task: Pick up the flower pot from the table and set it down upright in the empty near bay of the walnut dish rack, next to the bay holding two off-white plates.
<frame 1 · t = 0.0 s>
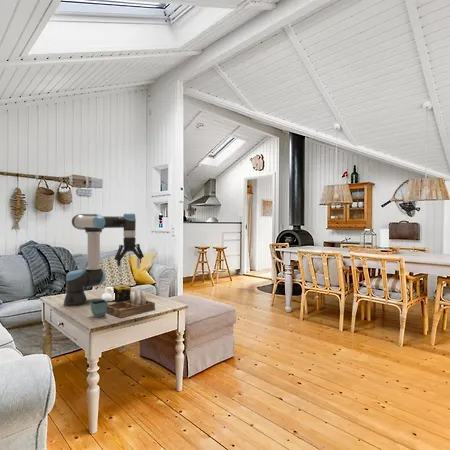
hand: (129, 269, 212), 28 cm above the table, fingers open, 13 cm apart
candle: (121, 300, 244), on the table
flower pot: (98, 316, 205), on the table
rack: (130, 310, 217), on the table
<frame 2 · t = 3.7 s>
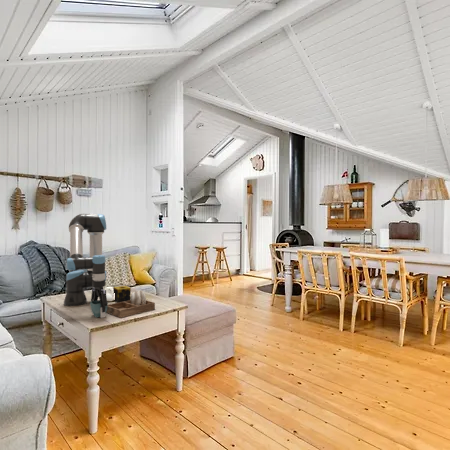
hand: (98, 315, 205), 0 cm above the table, fingers open, 9 cm apart
flower pot: (98, 316, 205), on the table, touching gripper
everything else where it was.
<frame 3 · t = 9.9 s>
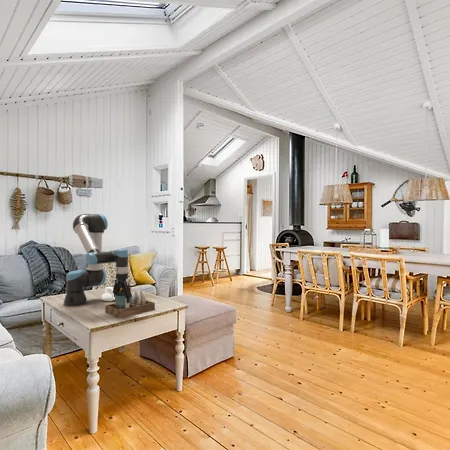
hand: (121, 306, 212), 4 cm above the table, fingers open, 12 cm apart
flower pot: (123, 308, 211), point 3 cm above the table, touching gripper
everything else where it was.
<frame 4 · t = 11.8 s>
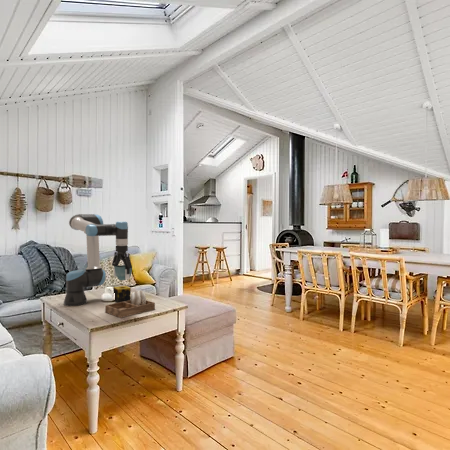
hand: (121, 277, 213), 23 cm above the table, fingers open, 13 cm apart
flower pot: (123, 280, 211), point 21 cm above the table, touching gripper
everything else where it was.
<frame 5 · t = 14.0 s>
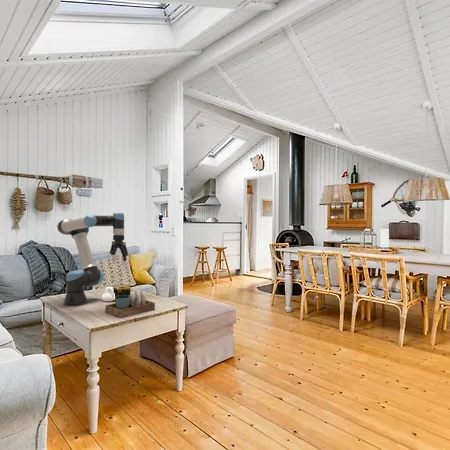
hand: (118, 264, 230), 29 cm above the table, fingers open, 13 cm apart
flower pot: (122, 310, 214), point 1 cm above the table, touching rack
everything else where it was.
at the end: flower pot inside the target area (1.4 cm from its centre), point 0.8 cm above the table; flower pot tilted 0°; the gripper is holding nothing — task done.
